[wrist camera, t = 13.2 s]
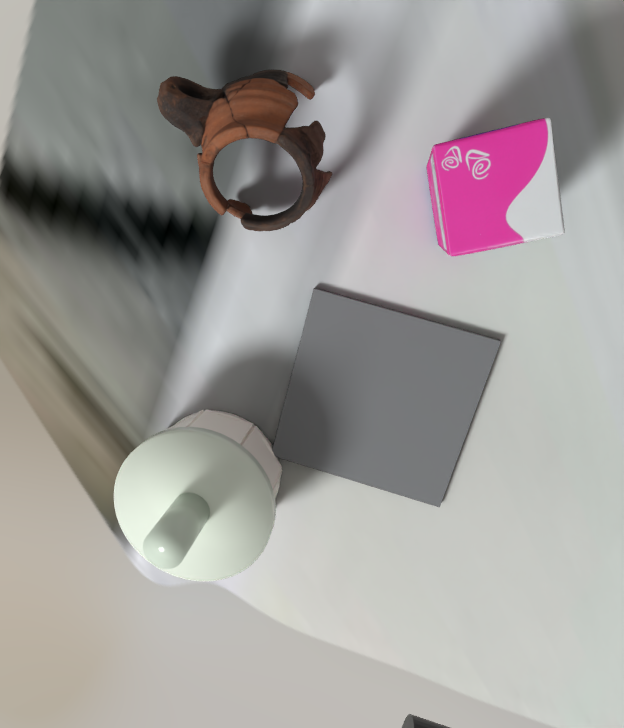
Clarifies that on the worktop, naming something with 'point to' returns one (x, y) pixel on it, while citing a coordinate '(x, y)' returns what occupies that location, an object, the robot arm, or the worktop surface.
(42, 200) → the worktop surface
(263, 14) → the worktop surface
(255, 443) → the bowl
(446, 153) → the supplement box
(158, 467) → the lid
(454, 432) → the mat
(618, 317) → the worktop surface
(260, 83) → the pottery mug
